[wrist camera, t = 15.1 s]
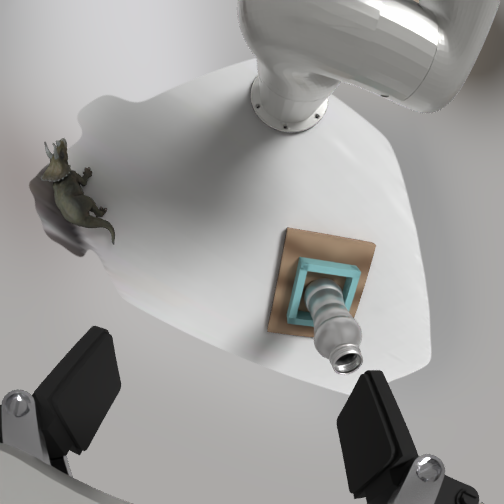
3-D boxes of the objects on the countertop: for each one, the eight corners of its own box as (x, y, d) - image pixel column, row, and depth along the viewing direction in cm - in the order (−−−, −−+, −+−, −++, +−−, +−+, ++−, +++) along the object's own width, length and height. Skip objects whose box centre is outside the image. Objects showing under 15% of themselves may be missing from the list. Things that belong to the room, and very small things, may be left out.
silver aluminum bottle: (340, 302, 48) (374, 375, 29) (304, 309, 49) (322, 387, 30) (337, 270, 46) (376, 335, 27) (299, 278, 47) (318, 349, 28)
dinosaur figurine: (127, 236, 48) (96, 255, 37) (98, 252, 49) (66, 272, 39) (87, 137, 42) (50, 134, 32) (60, 159, 44) (24, 161, 33)
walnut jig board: (287, 227, 46) (289, 233, 42) (373, 242, 46) (382, 250, 42) (267, 327, 52) (267, 340, 48) (344, 335, 52) (349, 348, 48)
